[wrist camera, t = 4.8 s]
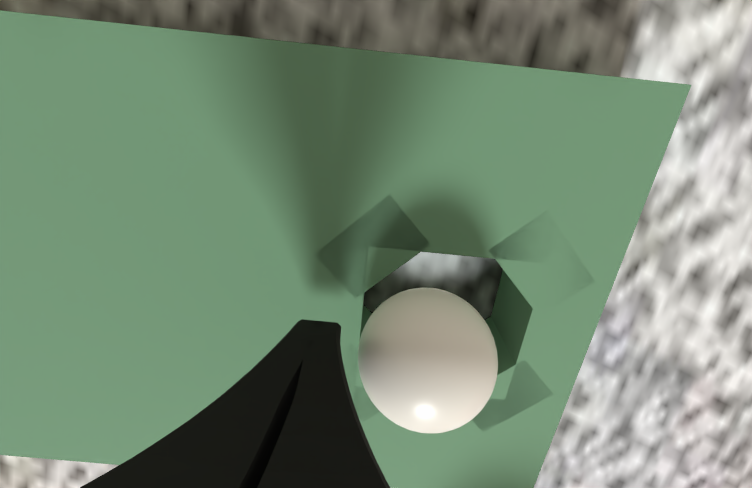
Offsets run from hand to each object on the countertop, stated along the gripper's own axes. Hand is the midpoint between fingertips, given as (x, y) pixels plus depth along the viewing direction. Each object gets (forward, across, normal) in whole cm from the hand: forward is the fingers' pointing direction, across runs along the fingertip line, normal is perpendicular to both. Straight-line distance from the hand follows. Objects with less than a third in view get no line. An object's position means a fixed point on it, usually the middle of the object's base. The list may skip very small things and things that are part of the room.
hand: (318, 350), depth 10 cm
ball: (0, -3, 0) cm, 3 cm away
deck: (+5, +2, 0) cm, 5 cm away
